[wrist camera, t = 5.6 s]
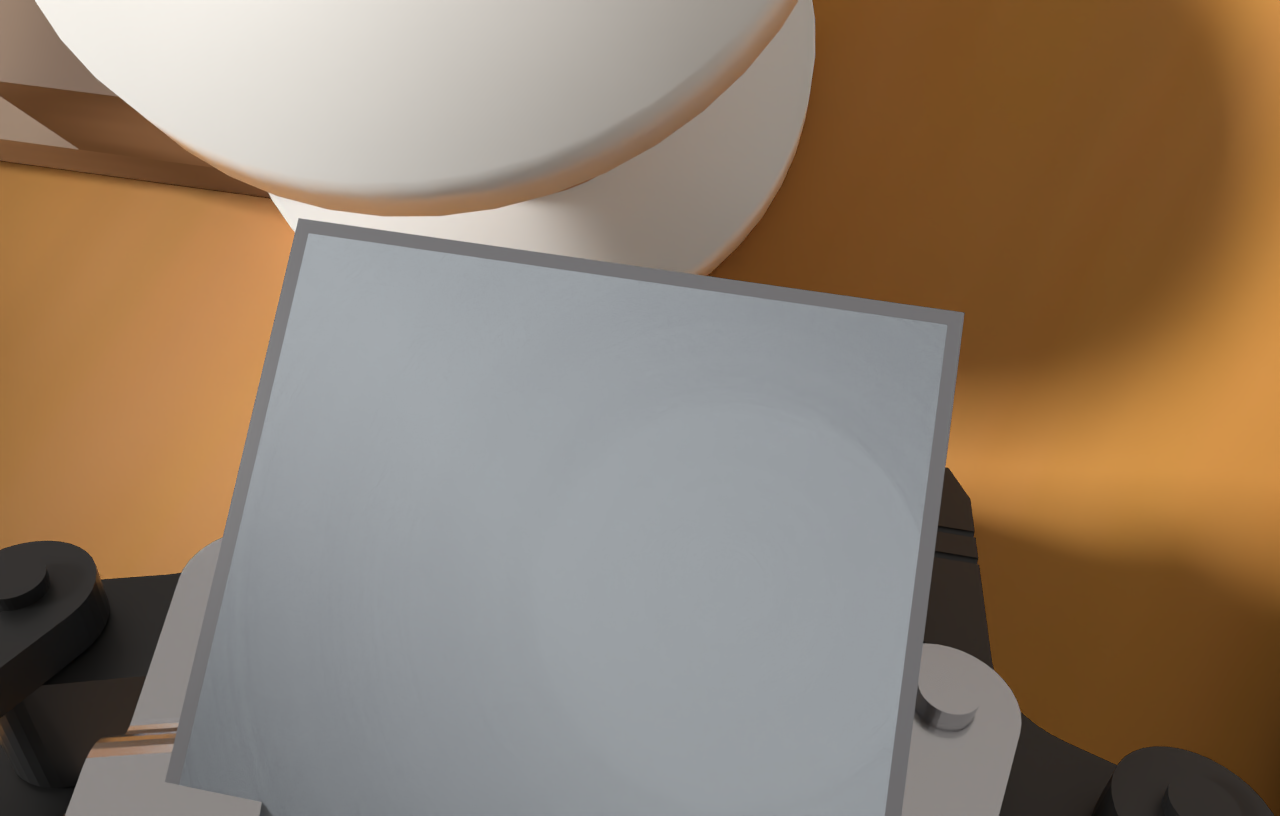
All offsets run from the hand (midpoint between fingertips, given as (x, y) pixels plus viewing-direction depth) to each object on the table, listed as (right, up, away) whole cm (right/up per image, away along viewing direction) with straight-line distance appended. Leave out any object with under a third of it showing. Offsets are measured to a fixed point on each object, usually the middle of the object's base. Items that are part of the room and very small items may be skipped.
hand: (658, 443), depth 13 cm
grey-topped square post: (0, -3, +4) cm, 5 cm away
